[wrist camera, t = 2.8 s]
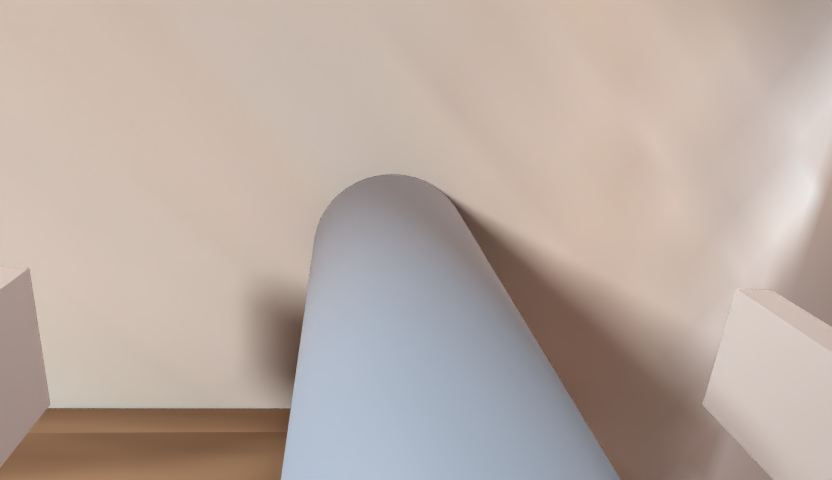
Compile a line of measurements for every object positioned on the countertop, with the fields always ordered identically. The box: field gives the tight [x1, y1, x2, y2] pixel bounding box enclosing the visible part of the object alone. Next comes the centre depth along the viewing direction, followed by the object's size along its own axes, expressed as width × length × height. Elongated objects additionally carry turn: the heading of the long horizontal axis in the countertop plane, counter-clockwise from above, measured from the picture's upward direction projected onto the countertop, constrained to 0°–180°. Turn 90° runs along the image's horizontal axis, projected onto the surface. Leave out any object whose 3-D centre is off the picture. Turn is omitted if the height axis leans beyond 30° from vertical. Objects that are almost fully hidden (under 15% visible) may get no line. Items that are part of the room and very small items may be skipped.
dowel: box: [281, 175, 621, 480], centre depth 10 cm, size 4×4×12 cm
